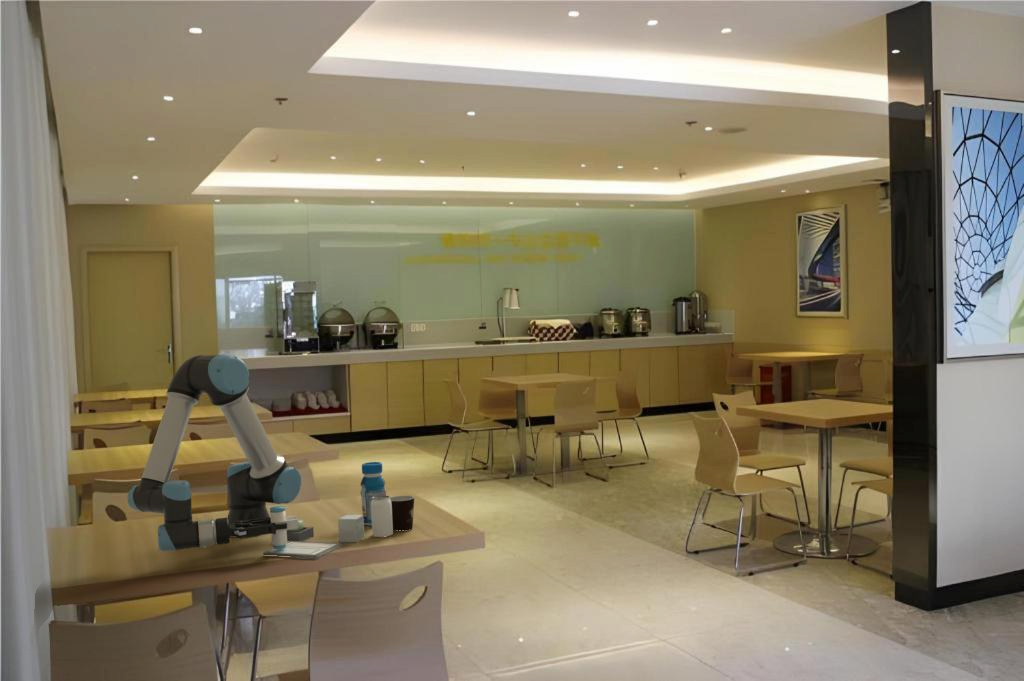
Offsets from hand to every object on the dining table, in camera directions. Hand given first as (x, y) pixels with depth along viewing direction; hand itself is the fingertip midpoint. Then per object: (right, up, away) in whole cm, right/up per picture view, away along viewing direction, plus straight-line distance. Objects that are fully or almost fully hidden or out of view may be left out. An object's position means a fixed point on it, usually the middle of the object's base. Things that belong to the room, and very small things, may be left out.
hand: (296, 522), depth 275 cm
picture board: (+2, -9, -1) cm, 9 cm away
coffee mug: (+30, -7, +23) cm, 38 cm away
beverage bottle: (+18, -7, +33) cm, 38 cm away
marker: (-5, -7, -2) cm, 9 cm away
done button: (-4, -6, +15) cm, 17 cm away
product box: (+15, -8, +11) cm, 20 cm away
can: (+24, -7, +15) cm, 29 cm away
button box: (-4, -8, +15) cm, 18 cm away
